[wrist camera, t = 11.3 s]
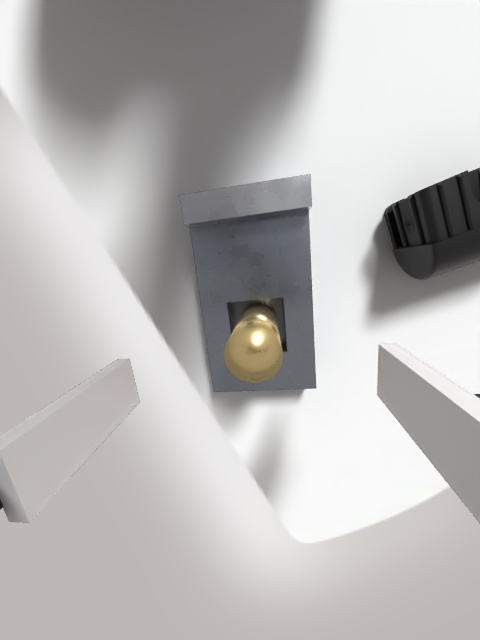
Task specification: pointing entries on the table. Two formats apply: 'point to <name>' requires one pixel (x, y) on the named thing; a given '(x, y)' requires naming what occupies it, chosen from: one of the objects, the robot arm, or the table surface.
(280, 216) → the jig
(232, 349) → the brass cylinder rod
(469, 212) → the end cap
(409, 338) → the table surface
